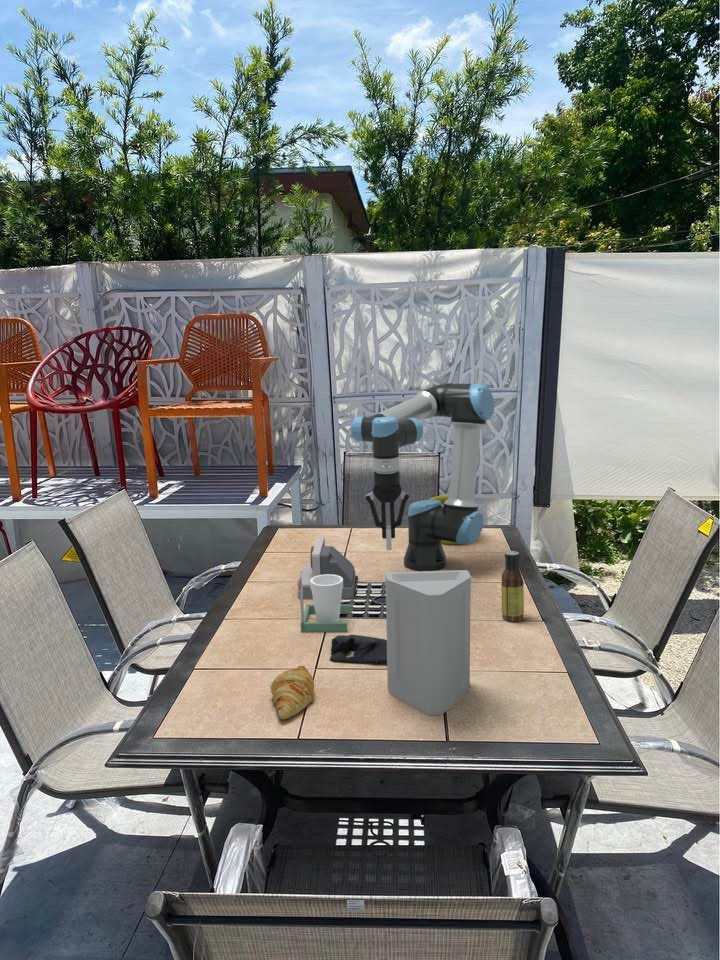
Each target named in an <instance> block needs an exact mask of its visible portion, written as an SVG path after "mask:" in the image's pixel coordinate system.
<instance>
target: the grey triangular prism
mask: <svg viewBox="0 0 720 960" xmlns="http://www.w3.org/2000/svg"><path fill="white" fill-rule="evenodd" d="M471 577H472V576H471V574H470V572H469V570H466V569H464V570H460V569H459V570H433V571H393V572H390V571H389V572H385V608H386V610H385V611H386V613H385V615H386V617H385V618H386V619H385V620H386V640H387V665H386V669H387V670H386V673H387V674H386V676H387V677H386V680H387V682H386V683H387V691H388V694H389V695H391V696H393V697H395V698H397V699H398V700H401V701H402V702H403V703H406V704H407V705H408V706H410V707H413V708H414V709H415V710H418V711H419V712H421V713H424V714H425V715H427V716H441V715H443V714H444V713H445V712H447V711H448V710H449V709H450V708H451V707H453V705H455V704H456V703H457V702H459V700H461V699H462V698H463V697H464V696H465V695H467V694H468V692H469V691H470V689H471V688H470V686H471V685H470V681H471V677H470V675H471V672H470V671H471V669H470V668H471V666H470V665H471V662H470V661H471V601H472V600H471V597H472V596H471V591H472V589H471V587H472V586H471V585H472V584H471V583H472V582H471V581H472V579H471Z"/></svg>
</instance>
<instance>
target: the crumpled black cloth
mask: <svg viewBox="0 0 720 960" xmlns="http://www.w3.org/2000/svg"><path fill="white" fill-rule="evenodd" d="M350 652H353V655H352V656H348V653H350ZM347 656H348V657H347ZM329 660H330V661H331V662H335V663H337V662H345V663H350V664H351V663H353V664H354V663H356V664H366V663H367V664H368V663H369V664H384V665H386V664H387V639H385V638H378V637H374V636H373V637H372V636H366V635H360V634H359V635H358V634H349V635H348V634H347V635H346V634H345V635H344V634H341V635H336V636H335V637H333V638H332V639H331V647H330V658H329Z"/></svg>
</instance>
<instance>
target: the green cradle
mask: <svg viewBox="0 0 720 960" xmlns="http://www.w3.org/2000/svg"><path fill="white" fill-rule="evenodd" d="M298 579H299V580H298ZM298 579H297V582H298V586H297V588H298V587H299V591H300V599H299V603H300V632H301V633H348V622H347V621H339V622H317V621H316V622H315V621H314V622H313V621H309V618H310V615H311V614H313V615H314V614H315V615H316V613H315V607H314V604H306V606H305V608H304V599H303V586H302V575H301V574H300V575H298ZM342 614H351V606H350V603H349V604H348V603H345V604H343V603H341V607H340V615H342Z"/></svg>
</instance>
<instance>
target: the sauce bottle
mask: <svg viewBox="0 0 720 960" xmlns="http://www.w3.org/2000/svg"><path fill="white" fill-rule="evenodd" d="M504 559H505V566H504V567H505V568H504V570H503V572H502V574H501V614H502V618H503V619H504V620H505V621H507V622H514V623H515V622H520V621H522V620H523V619H524V613H525V606H524V605H525V604H524V603H525V602H524V601H525V599H524V597H525V596H524V595H525V594H524V593H525V592H524V588H525V587H524V578H523V575H522V572H521V569H520V565H519V564H520V563H519V562H520V561H519V559H520V552H518V551H515V550H509V551H507V550H506V551H505V552H504Z"/></svg>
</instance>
